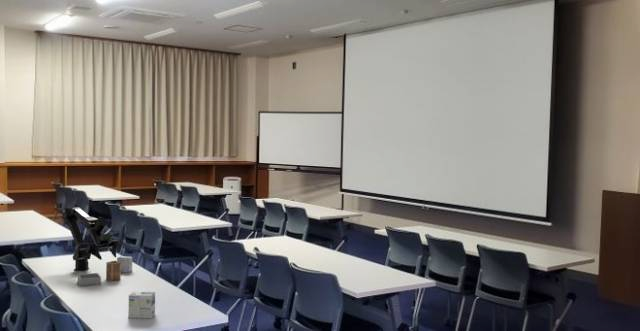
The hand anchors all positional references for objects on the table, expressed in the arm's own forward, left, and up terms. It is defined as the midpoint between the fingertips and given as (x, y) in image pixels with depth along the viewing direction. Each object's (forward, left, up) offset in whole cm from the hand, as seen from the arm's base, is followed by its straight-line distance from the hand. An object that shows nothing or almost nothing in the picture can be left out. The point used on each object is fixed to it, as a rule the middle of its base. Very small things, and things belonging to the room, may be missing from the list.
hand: (108, 258), depth 324 cm
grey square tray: (-5, -13, -11) cm, 18 cm away
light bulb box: (+47, -60, -12) cm, 77 cm away
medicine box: (+1, +17, -12) cm, 21 cm away
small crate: (+4, -3, -11) cm, 13 cm away
